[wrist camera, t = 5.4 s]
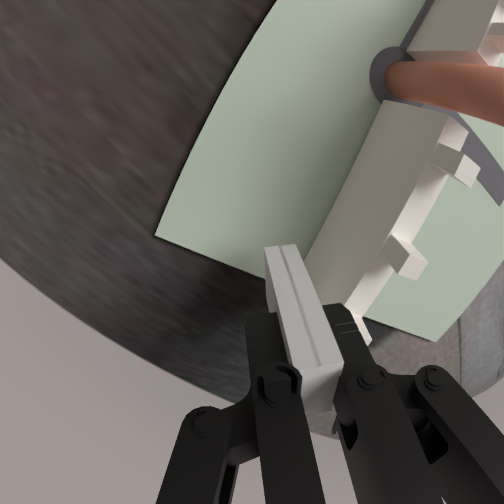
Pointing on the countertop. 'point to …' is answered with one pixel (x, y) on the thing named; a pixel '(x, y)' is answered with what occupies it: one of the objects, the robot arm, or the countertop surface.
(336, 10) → the card
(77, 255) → the countertop surface
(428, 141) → the swing panel
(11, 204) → the countertop surface
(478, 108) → the fixed fence
